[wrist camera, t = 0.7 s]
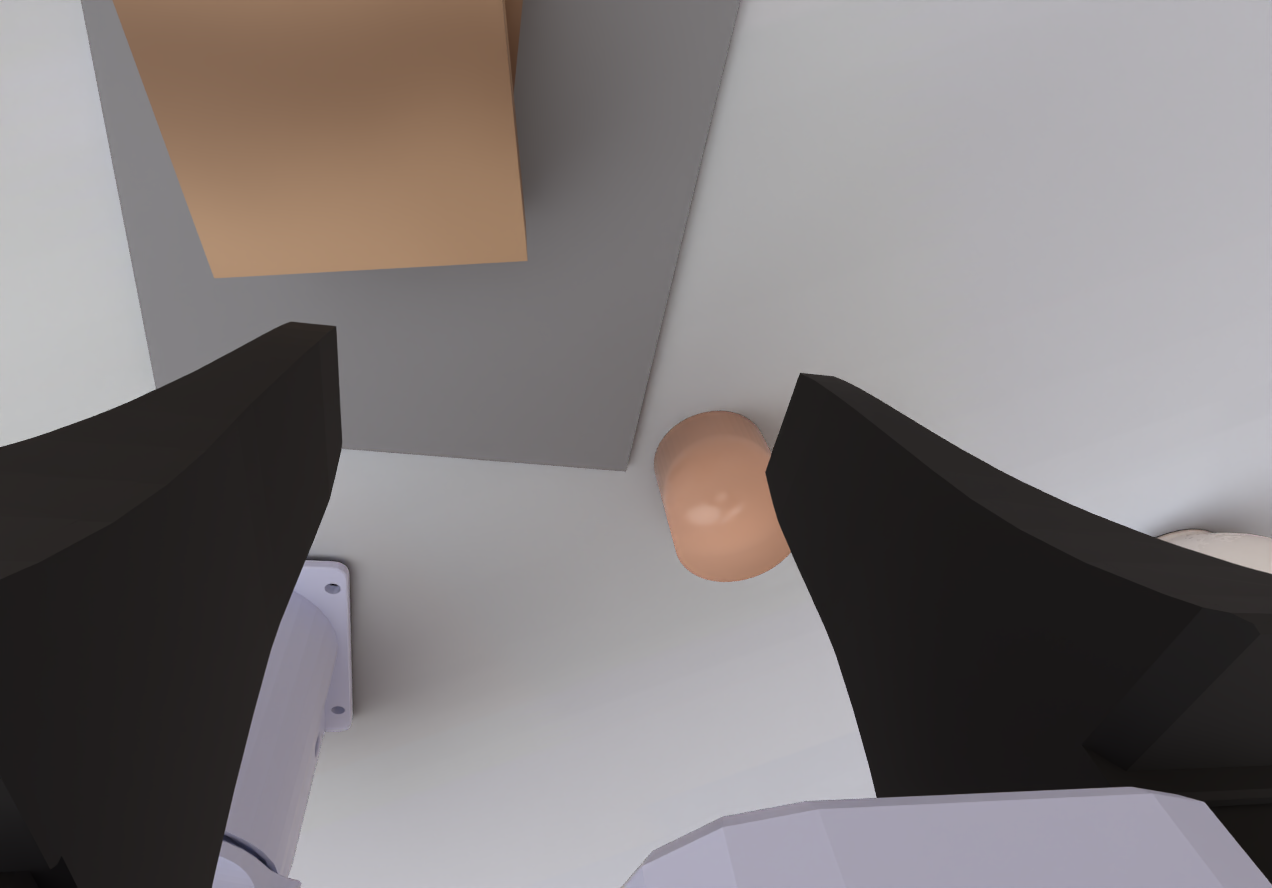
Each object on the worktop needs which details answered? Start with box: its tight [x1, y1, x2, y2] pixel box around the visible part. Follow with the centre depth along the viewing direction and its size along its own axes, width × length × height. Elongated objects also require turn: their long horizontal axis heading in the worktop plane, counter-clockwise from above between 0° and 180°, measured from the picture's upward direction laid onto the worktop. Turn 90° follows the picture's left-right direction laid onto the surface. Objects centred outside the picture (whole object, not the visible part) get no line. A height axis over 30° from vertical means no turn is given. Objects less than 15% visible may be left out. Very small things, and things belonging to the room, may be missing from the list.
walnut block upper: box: [112, 0, 528, 278], centre depth 13 cm, size 6×6×2 cm
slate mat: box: [81, 0, 740, 471], centre depth 18 cm, size 16×14×1 cm
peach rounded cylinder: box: [654, 411, 791, 582], centre depth 23 cm, size 4×4×4 cm
